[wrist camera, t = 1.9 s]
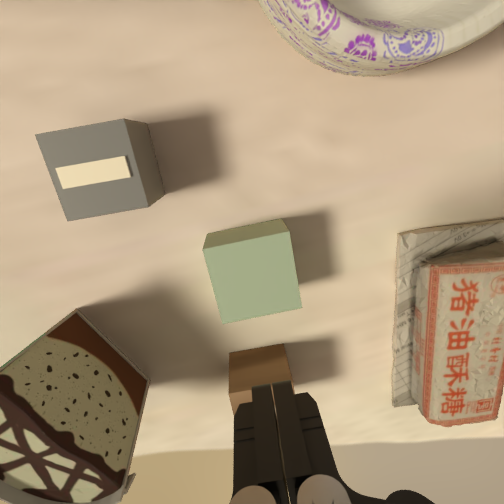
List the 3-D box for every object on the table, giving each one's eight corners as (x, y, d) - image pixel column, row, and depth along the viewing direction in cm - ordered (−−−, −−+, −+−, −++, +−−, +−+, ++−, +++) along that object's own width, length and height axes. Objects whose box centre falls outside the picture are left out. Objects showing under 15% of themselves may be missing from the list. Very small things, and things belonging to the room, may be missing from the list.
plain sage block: (207, 233, 25) (202, 249, 21) (281, 217, 25) (289, 231, 21) (224, 298, 27) (222, 324, 23) (292, 284, 27) (302, 307, 23)
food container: (10, 333, 27) (-112, 437, 17) (63, 295, 26) (-35, 383, 16) (111, 420, 31) (56, 545, 21) (160, 390, 30) (126, 506, 20)
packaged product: (524, 425, 28) (413, 441, 28) (483, 385, 32) (387, 398, 32) (569, 229, 22) (426, 248, 21) (510, 214, 26) (392, 230, 26)
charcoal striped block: (77, 136, 22) (33, 134, 17) (147, 123, 22) (122, 118, 17) (100, 205, 24) (66, 221, 19) (165, 194, 24) (148, 207, 19)
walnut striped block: (229, 352, 29) (228, 395, 24) (283, 342, 29) (293, 383, 24) (239, 394, 30) (240, 442, 26) (289, 385, 30) (300, 432, 26)
